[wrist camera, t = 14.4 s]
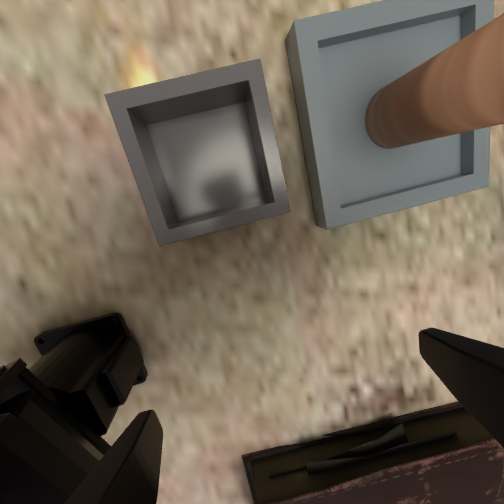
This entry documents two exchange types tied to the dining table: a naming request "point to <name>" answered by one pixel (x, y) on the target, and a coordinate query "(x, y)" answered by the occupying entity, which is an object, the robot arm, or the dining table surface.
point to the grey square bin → (202, 150)
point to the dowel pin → (443, 93)
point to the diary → (386, 464)
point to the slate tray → (357, 100)
